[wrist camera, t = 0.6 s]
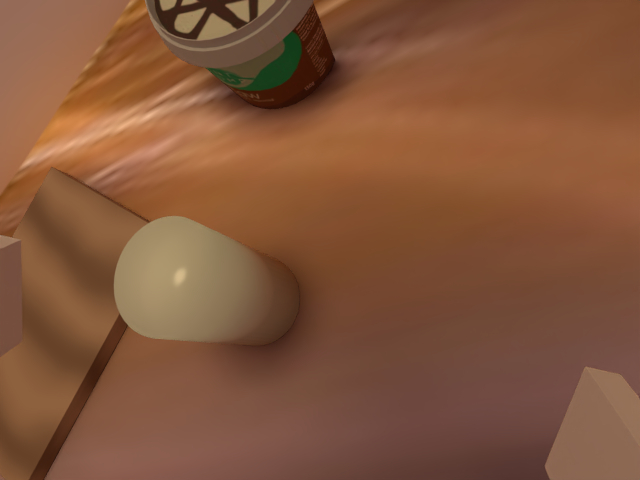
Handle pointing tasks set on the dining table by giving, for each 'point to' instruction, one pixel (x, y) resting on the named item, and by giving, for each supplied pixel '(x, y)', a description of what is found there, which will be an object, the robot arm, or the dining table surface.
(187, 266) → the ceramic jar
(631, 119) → the dining table surface
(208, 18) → the food container
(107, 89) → the dining table surface
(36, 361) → the walnut board
